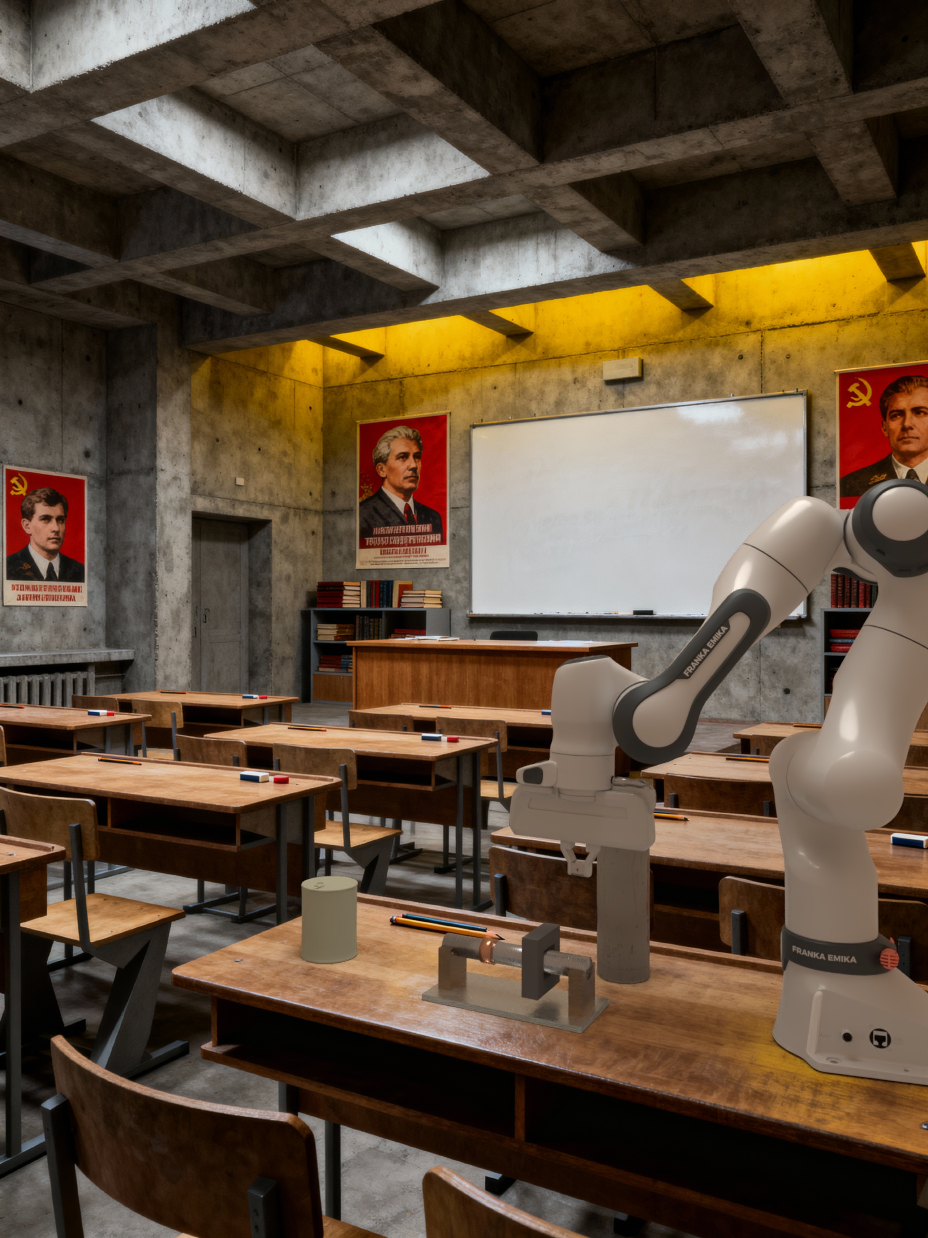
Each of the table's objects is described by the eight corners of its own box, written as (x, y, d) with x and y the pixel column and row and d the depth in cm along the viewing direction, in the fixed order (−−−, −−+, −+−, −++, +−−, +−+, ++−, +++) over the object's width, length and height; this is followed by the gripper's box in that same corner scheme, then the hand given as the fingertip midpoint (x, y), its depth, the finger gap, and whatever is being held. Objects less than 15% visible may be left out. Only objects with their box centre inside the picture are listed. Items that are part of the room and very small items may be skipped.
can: (288, 957, 148) (289, 882, 149) (325, 941, 156) (326, 870, 156) (332, 968, 143) (333, 890, 144) (369, 951, 151) (369, 878, 152)
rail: (609, 1004, 129) (609, 945, 129) (581, 1033, 119) (581, 969, 120) (458, 975, 140) (458, 920, 141) (421, 999, 131) (422, 941, 131)
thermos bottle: (649, 967, 144) (649, 787, 145) (649, 986, 136) (649, 795, 137) (598, 963, 146) (598, 786, 147) (595, 981, 138) (595, 793, 139)
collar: (559, 981, 131) (560, 925, 131) (537, 1000, 124) (537, 940, 124) (544, 978, 132) (544, 922, 132) (521, 997, 125) (521, 938, 125)
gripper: (662, 777, 124) (661, 881, 124) (524, 765, 134) (522, 861, 133) (649, 783, 119) (647, 891, 118) (505, 769, 128) (503, 870, 128)
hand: (579, 875), depth 126 cm, fingers closed
